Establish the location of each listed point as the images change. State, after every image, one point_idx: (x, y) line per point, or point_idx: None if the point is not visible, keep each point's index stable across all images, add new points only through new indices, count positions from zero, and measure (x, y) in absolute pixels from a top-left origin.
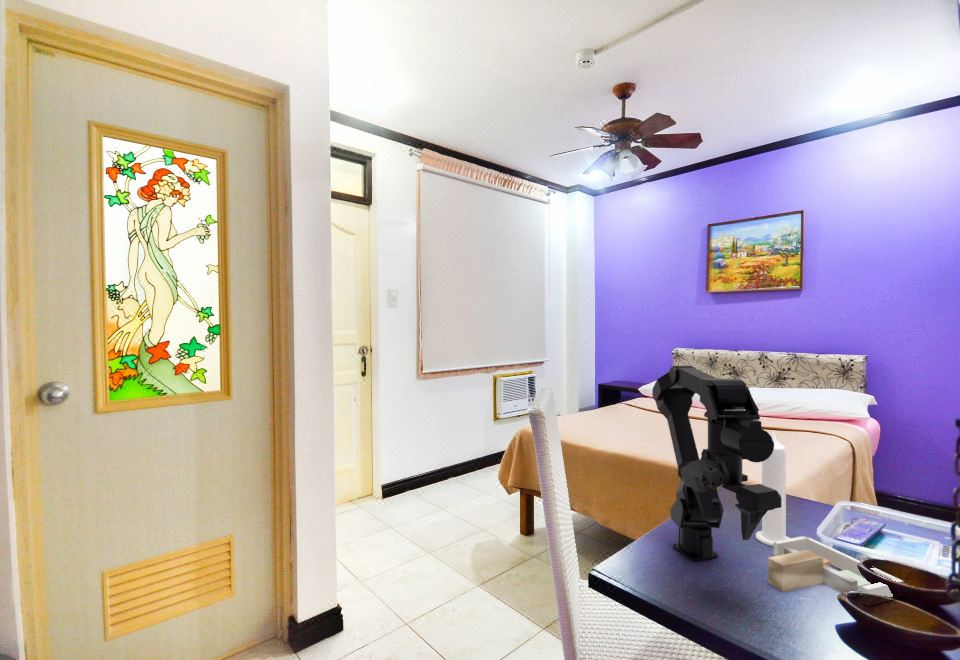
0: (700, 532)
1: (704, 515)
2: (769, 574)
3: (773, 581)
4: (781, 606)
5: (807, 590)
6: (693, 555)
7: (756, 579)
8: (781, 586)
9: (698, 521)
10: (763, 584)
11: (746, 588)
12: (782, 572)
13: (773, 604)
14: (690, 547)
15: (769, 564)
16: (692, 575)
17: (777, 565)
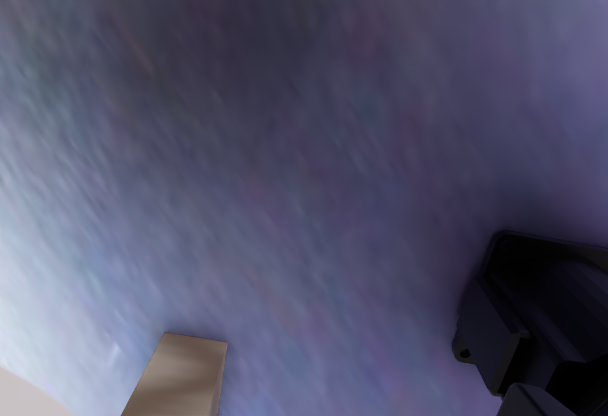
0: (549, 359)
1: (532, 408)
2: (213, 368)
3: (199, 351)
4: (99, 243)
5: None
6: (519, 260)
7: (264, 329)
8: (165, 345)
9: (603, 406)
10: (229, 320)
11: (238, 239)
12: (138, 390)
13: (119, 229)
14: (553, 276)
15: (203, 402)
16: (426, 117)
17: (155, 409)
